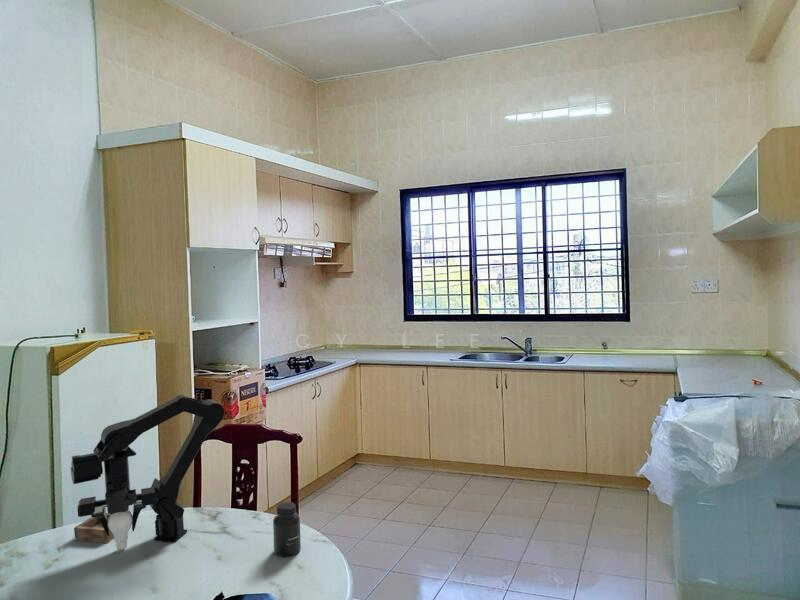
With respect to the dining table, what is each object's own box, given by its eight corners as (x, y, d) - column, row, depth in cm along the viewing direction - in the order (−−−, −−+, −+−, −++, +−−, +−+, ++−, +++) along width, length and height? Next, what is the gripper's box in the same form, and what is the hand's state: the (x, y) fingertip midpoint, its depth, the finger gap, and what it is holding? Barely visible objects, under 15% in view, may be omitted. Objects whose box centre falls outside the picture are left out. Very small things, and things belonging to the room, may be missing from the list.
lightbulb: (139, 546, 164) (137, 505, 163) (122, 557, 158) (119, 515, 158) (121, 543, 166) (118, 503, 165) (103, 553, 160) (100, 512, 160)
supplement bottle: (295, 558, 155) (293, 511, 154) (269, 556, 157) (267, 510, 156) (305, 545, 162) (303, 500, 161) (280, 543, 163) (278, 499, 162)
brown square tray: (130, 526, 176) (130, 514, 176) (107, 542, 167) (106, 530, 166) (99, 524, 178) (98, 512, 178) (74, 540, 169) (74, 527, 168)
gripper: (73, 492, 150) (78, 554, 151) (156, 478, 157) (160, 538, 158) (77, 477, 160) (81, 535, 161) (155, 465, 167) (158, 521, 168)
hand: (120, 533), depth 162 cm, fingers closed on lightbulb, 5 cm apart
